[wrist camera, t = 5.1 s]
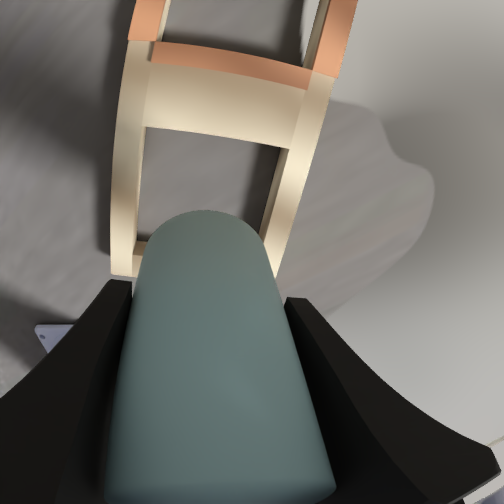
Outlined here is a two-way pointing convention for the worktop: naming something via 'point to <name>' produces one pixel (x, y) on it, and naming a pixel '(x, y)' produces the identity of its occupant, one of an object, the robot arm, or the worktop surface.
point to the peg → (211, 378)
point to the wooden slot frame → (222, 113)
